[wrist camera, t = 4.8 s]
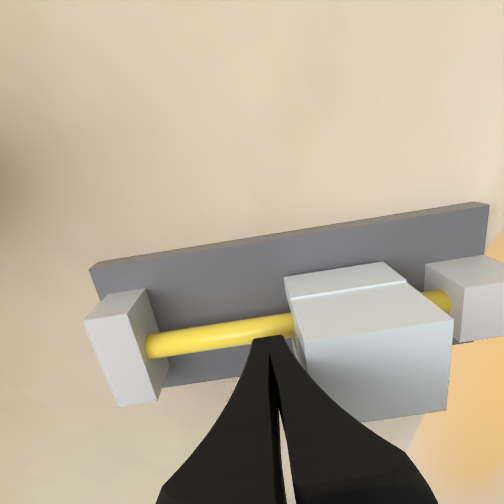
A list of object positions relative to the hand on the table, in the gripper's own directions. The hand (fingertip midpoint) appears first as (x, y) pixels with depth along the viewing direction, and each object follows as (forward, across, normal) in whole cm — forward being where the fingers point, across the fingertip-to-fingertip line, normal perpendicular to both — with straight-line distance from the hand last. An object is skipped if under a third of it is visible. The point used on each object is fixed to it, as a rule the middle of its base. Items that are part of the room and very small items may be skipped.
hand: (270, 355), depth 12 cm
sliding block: (+3, -4, 0) cm, 5 cm away
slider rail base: (+4, -2, 0) cm, 5 cm away
